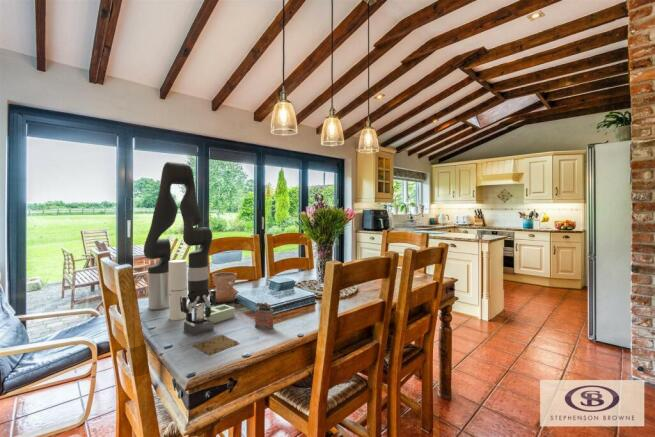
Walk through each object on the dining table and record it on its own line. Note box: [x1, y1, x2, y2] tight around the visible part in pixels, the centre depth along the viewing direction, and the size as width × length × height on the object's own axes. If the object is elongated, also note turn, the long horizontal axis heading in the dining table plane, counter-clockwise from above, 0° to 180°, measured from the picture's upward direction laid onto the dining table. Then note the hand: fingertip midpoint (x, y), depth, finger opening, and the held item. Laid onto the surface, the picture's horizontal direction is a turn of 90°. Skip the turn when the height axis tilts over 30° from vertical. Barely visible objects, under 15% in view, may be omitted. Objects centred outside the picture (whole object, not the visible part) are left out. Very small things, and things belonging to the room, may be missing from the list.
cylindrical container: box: [168, 259, 188, 321], centre depth 137 cm, size 7×7×25 cm
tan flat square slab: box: [191, 334, 240, 356], centre depth 110 cm, size 12×12×1 cm
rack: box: [204, 303, 236, 324], centre depth 135 cm, size 8×14×4 cm, turn 142°
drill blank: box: [193, 303, 205, 325], centre depth 122 cm, size 4×4×9 cm
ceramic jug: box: [211, 271, 240, 304], centre depth 162 cm, size 18×14×14 cm
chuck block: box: [183, 317, 215, 337], centre depth 122 cm, size 8×8×4 cm
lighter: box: [254, 302, 274, 331], centre depth 125 cm, size 8×3×10 cm, turn 71°
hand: (198, 319), depth 122 cm, fingers open, 7 cm apart
